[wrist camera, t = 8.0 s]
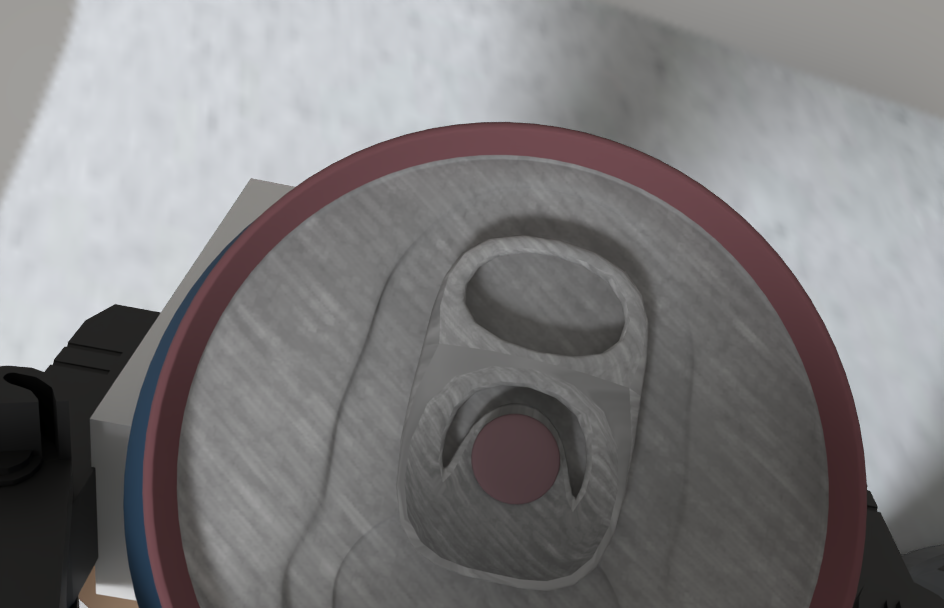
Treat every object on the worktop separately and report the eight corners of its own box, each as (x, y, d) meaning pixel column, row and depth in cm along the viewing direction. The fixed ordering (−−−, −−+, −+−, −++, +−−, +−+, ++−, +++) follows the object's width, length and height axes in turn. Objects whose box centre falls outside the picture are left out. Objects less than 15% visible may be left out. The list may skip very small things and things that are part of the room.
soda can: (564, 714, 18) (903, 1060, 6) (219, 638, 18) (-92, 855, 6) (624, 376, 20) (975, 159, 8) (311, 303, 19) (208, -32, 8)
